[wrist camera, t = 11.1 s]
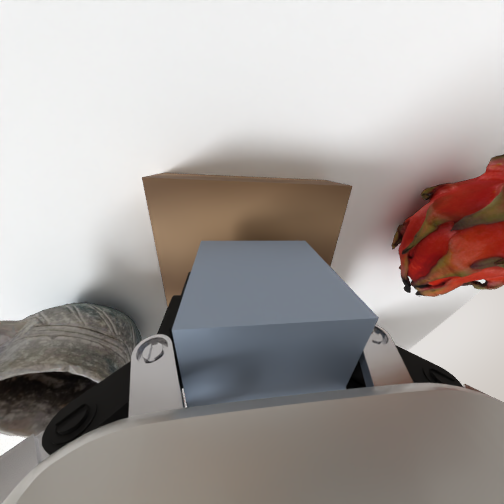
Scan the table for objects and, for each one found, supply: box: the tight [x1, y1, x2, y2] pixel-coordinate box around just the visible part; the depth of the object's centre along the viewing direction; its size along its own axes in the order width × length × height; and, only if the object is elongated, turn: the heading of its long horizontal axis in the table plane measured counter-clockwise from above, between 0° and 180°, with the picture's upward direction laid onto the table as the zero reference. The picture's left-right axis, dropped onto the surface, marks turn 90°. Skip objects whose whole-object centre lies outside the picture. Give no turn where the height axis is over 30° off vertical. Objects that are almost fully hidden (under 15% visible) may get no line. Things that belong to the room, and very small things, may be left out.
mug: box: [0, 303, 141, 438], centre depth 13 cm, size 10×12×10 cm
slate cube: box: [172, 241, 378, 407], centre depth 9 cm, size 6×6×6 cm
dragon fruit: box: [392, 155, 504, 297], centre depth 14 cm, size 8×8×12 cm
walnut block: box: [142, 173, 352, 306], centre depth 15 cm, size 12×12×4 cm
